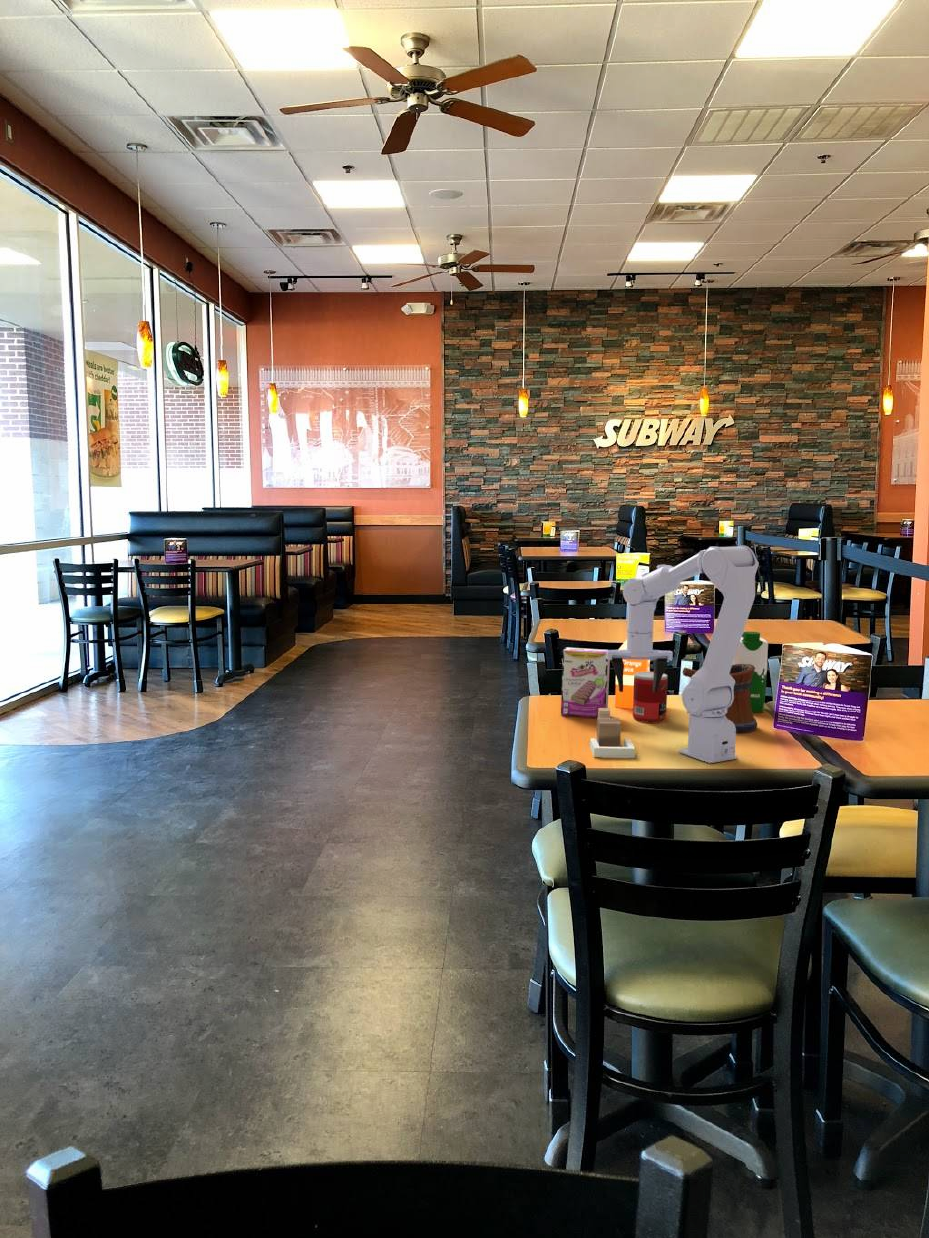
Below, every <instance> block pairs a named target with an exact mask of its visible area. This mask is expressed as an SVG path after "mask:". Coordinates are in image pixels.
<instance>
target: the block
mask: <svg viewBox="0 0 929 1238" xmlns="http://www.w3.org/2000/svg"><path fill="white" fill-rule="evenodd" d="M621 724H622V723H621V721H620V720H619V718H616V717H615V718H614V717H613V718H612V717H611V710H610V708H609V707H608V708H598V718H596V740H597V742H598V744H599V747H621V726H622V725H621Z"/></svg>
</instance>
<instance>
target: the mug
mask: <svg viewBox="0 0 929 1238" xmlns="http://www.w3.org/2000/svg"><path fill="white" fill-rule="evenodd" d="M754 670H755V667H754V666H753V665H751V664H734V665H732V667H731V670H730V673H729V674H730V675H731V676H732V677H733V679H734V680H735V684H734V689H733V692H734V699H733V703H732V704H731V706H730V707H728V708H727V713H725V716H726V718H727V719H728V720H730V721H732V722H733V723H734V725H735V728H736V733H752V732H754V731H755V730H757V728H758V721H757V719H756V718H755V717H754V712H752V709H751V704H750V687H751V685H752V680H751V679H752V676H753V673H754ZM697 671H698V670H696V669H691V668H689V667H684V668H683V669H682V675H683V676H684V677H687V678H690V679H691V677H692V676H693V675H694V674H695V673H696V672H697Z"/></svg>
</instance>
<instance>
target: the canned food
mask: <svg viewBox="0 0 929 1238" xmlns="http://www.w3.org/2000/svg"><path fill="white" fill-rule="evenodd" d="M653 679H654V671H650V672H637V673H635V674H634V690H633V709H632V716H633V717H632V718H633V719H634V720H635V721H638V722H642V723H652V724H653V723H662V722H664V721H665V720H666V718H667V706H668V705H667V703H668V682H669V681H668V680H669V679H668V674H667V673H664V674H663V676H662V678H661V681H660V683H659V687H658V692H654V691H653Z"/></svg>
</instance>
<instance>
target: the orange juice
mask: <svg viewBox="0 0 929 1238" xmlns="http://www.w3.org/2000/svg"><path fill="white" fill-rule="evenodd" d="M624 649H627V638H626V640H624V642H623V643H622V644H621V646H620V647H619V648H618V649H617V650H624ZM632 657H633V656H632ZM622 660H623V659H622ZM650 662H651V660H623V664H624V672H623V692H620V691H619V686H618V680H617V676H616V675H615V698H614V699H615V701H614V704H615V706H614V708H620V709H630V710H631V709H632V710H633V690H634V674H635V673H637V672H651V671H650V670H651V669H650V664H651V663H650Z"/></svg>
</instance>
